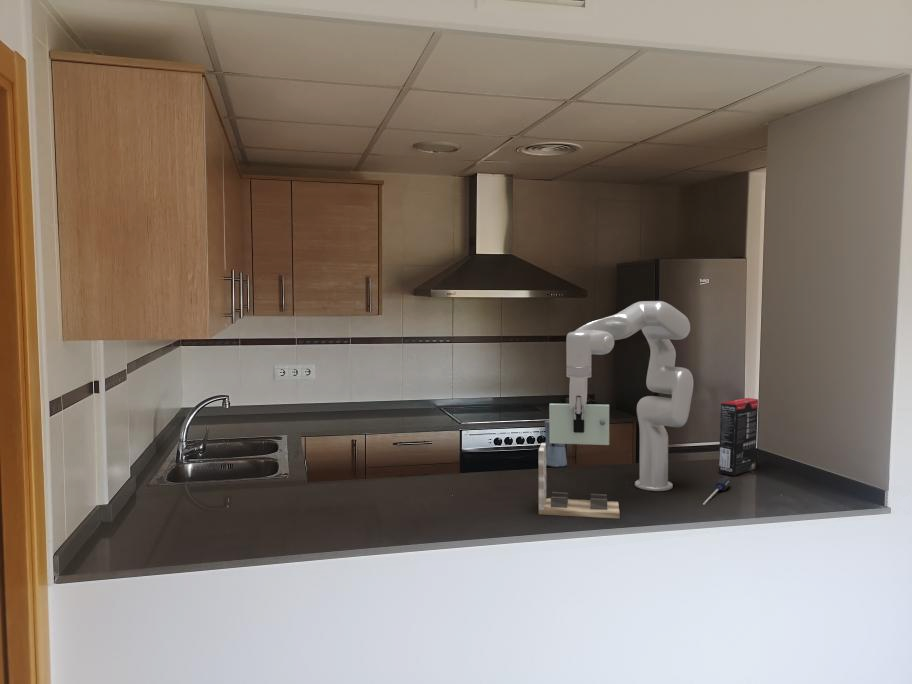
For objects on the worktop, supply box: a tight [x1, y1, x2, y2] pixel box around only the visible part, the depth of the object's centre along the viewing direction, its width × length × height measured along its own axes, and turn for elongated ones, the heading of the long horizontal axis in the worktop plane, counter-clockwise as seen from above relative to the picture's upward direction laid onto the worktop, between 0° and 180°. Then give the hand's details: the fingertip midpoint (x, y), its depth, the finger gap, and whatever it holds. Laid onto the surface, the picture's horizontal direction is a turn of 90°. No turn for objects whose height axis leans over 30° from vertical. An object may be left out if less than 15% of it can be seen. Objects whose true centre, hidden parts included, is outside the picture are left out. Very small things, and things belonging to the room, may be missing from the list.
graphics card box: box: [718, 397, 759, 477], centre depth 247 cm, size 17×7×27 cm, turn 130°
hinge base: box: [537, 442, 621, 520], centre depth 204 cm, size 12×24×20 cm, turn 78°
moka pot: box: [544, 420, 568, 468], centre depth 260 cm, size 10×15×20 cm, turn 164°
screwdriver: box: [702, 476, 732, 505], centre depth 219 cm, size 26×4×4 cm, turn 142°
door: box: [548, 403, 610, 446], centre depth 202 cm, size 4×18×12 cm, turn 78°
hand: (578, 430), depth 203 cm, fingers closed on door, 2 cm apart
